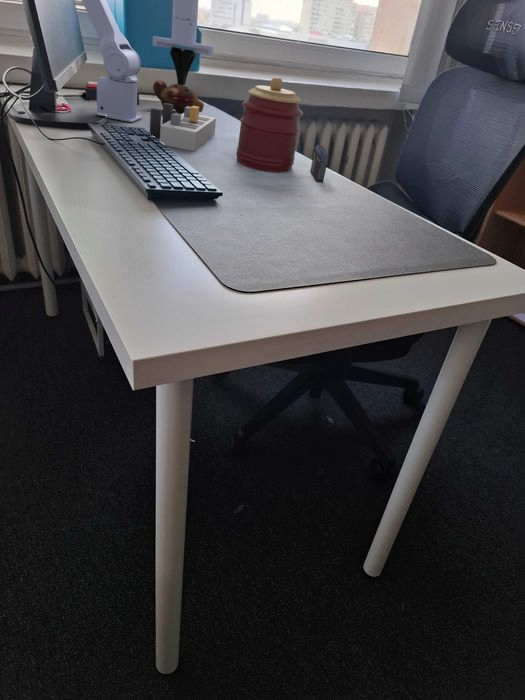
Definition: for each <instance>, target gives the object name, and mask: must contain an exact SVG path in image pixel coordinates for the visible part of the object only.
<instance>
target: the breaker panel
mask: <svg viewBox="0 0 525 700" xmlns="http://www.w3.org/2000/svg"><path fill="white" fill-rule="evenodd" d="M189 117H190V107H189V106H187V107H185V110H184V113H183V114H178V113H177V112H173V114H171V120H170V121H168V122H166V123H164V124H162V123H161V128H160V138H159V142H160V141H161V142H163V143H164V144H166V145H167V147H171V148H176V149H183V150H187V151H191V152H192V151H193V152H195V151H196V150H198V149H199V148H200V147H202V146H203V145H204V144H205V143H206V142H207V141H209V140H210V139H211V138H212V137H213V136H215V133H216V124H217V123H216V122H217V117H212V116H210V115H209V116H208V115H203V114H199V118H198V121H197V122H192V121H189ZM166 145H165V146H166Z"/></svg>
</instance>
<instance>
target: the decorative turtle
mask: <svg viewBox="0 0 525 700" xmlns="http://www.w3.org/2000/svg"><path fill="white" fill-rule="evenodd" d="M152 90H153V92H154V94H155V96H156V98H157V99H158V100H159V101H160V102H161V107H162V108H163V103H168V104H172V105H173V110H174V111H175V113H178V114H183V113H184V110H185V107H187V106H189V107H192V106H198V107H199V113H201V112H203V110H204V107H205V104H204V102H202V101H201V100H199V99H198V96H197V94H196V93H195V92H194V90H192V89H191V88H189V87H188V86H186V85H179V84H178V83H173V84H170V85H169V86H168V85H167V83H166V82H165V81H164V80H156V81H154V83H153V85H152Z"/></svg>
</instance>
